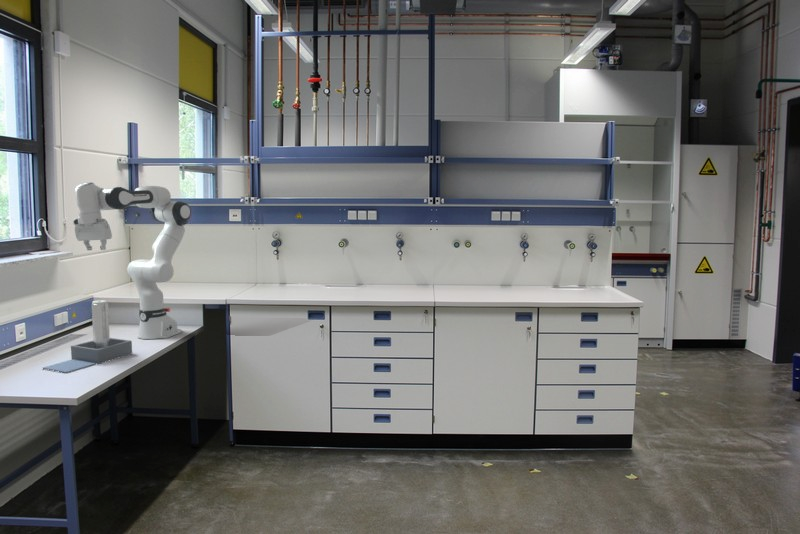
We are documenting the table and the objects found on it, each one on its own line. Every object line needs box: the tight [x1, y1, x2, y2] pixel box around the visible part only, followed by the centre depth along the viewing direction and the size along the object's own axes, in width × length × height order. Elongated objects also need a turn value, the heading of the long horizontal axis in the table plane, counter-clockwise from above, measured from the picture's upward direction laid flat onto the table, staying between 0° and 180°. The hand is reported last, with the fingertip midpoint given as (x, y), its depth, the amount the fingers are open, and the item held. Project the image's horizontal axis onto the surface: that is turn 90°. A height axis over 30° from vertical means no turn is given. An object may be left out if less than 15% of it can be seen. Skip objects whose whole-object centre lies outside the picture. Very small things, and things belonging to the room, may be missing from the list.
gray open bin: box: [70, 337, 133, 365], centre depth 264 cm, size 18×16×6 cm
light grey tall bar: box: [90, 299, 111, 349], centre depth 263 cm, size 6×6×25 cm
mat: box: [42, 358, 97, 374], centre depth 248 cm, size 14×14×1 cm
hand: (96, 250), depth 268 cm, fingers open, 8 cm apart
